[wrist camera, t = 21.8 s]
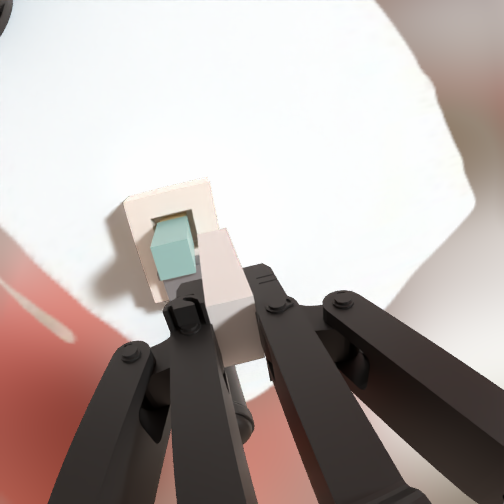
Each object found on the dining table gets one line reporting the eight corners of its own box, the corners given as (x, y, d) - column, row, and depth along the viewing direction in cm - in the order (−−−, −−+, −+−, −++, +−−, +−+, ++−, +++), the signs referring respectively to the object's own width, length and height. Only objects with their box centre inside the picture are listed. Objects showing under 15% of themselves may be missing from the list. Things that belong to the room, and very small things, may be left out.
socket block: (128, 196, 41) (123, 202, 37) (207, 177, 42) (209, 181, 39) (157, 290, 48) (155, 303, 44) (228, 273, 49) (231, 285, 46)
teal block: (159, 216, 42) (150, 247, 32) (187, 209, 43) (187, 238, 32) (166, 242, 44) (160, 280, 33) (193, 236, 45) (196, 272, 34)
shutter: (158, 264, 41) (156, 274, 39) (206, 253, 42) (207, 262, 39) (172, 304, 44) (171, 316, 42) (216, 294, 45) (218, 306, 42)
